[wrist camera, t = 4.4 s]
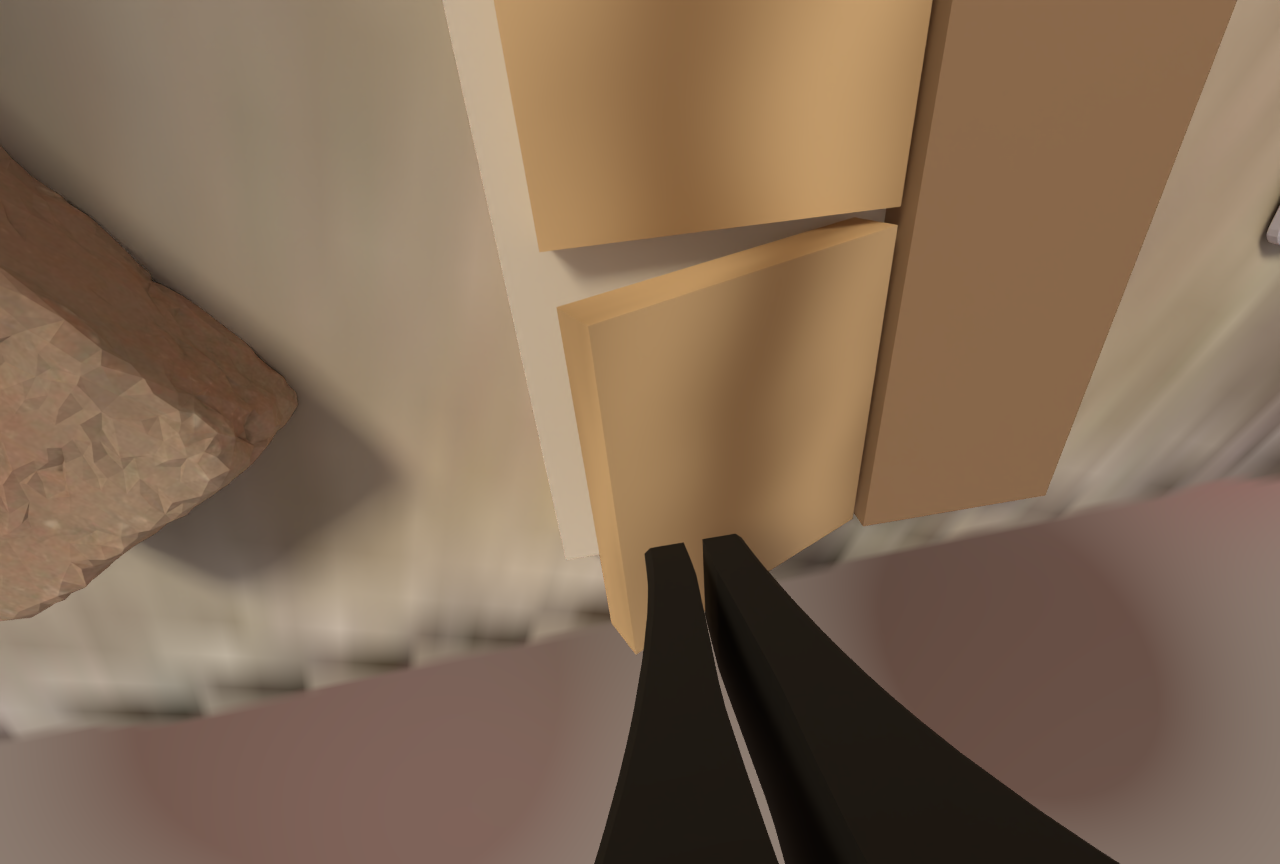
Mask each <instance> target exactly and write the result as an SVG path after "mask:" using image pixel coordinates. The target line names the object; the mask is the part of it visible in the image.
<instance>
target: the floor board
mask: <svg viewBox="0 0 1280 864" xmlns="http://www.w3.org/2000/svg"><path fill="white" fill-rule="evenodd" d="M442 2H443V6H444V11H445V15H446V20H447V24H448V29H449V33H450V38H451V42H452V47H453V51H454V56H455V60H456V65H457V69H458V74H459V79H460V83H461V88H462V92H463V97H464V101H465V106H466V110H467V115H468V119H469V124H470V128H471V133H472V137H473V142H474V146H475V151H476V155H477V160H478V165H479V169H480V174H481V178H482V183H483V187H484V192H485V196H486V201H487V205H488V210H489V214H490V219H491V223H492V228H493V232H494V237H495V241H496V246H497V250H498V255H499V260H500V264H501V269H502V273H503V278H504V282H505V287H506V291H507V296H508V300H509V305H510V309H511V314H512V318H513V323H514V327H515V332H516V336H517V341H518V346H519V350H520V355H521V359H522V364H523V368H524V373H525V377H526V382H527V386H528V391H529V395H530V400H531V404H532V409H533V413H534V418H535V422H536V427H537V432H538V436H539V441H540V445H541V450H542V454H543V459H544V463H545V468H546V472H547V477H548V481H549V486H550V490H551V495H552V499H553V504H554V508H555V513H556V518H557V522H558V527H559V531H560V536H561V540H562V545H563V549H564V554H565V558H566V560H570V559H576V558H582V557H588V556H594V555H600V554H599V549H598V543H597V537H596V531H595V526H594V520H593V514H592V509H591V503H590V497H589V491H588V486H587V480H586V474H585V468H584V463H583V457H582V451H581V446H580V440H579V434H578V428H577V423H576V417H575V411H574V405H573V400H572V394H571V388H570V383H569V377H568V371H567V365H566V360H565V354H564V348H563V342H562V337H561V331H560V325H559V320H558V314H557V308H556V307H559V306H562V305H565V304H569V303H572V302H575V301H579V300H582V299H585V298H589V297H592V296H595V295H599V294H602V293H605V292H608V291H612V290H615V289H618V288H622V287H625V286H628V285H632V284H635V283H638V282H642V281H645V280H648V279H651V278H655V277H658V276H661V275H665V274H668V273H671V272H675V271H678V270H681V269H685V268H688V267H691V266H694V265H698V264H701V263H704V262H708V261H711V260H714V259H718V258H721V257H724V256H728V255H731V254H734V253H737V252H741V251H744V250H747V249H751V248H754V247H757V246H761V245H764V244H767V243H771V242H774V241H777V240H780V239H784V238H787V237H790V236H794V235H797V234H800V233H804V232H807V231H810V230H814V229H817V228H820V227H823V226H827V225H830V224H833V223H837V222H840V221H843V220H847V219H850V218H853V217H856V218H861V219H867V220H873V221H878V222H884V223H889V224H895V225H898V228H897V234H896V240H895V247H894V253H893V260H892V266H891V273H890V279H889V286H888V292H887V299H886V305H885V312H884V318H883V325H882V331H881V338H880V344H879V350H878V357H877V363H876V370H875V376H874V383H873V389H872V396H871V402H870V409H869V415H868V422H867V428H866V435H865V441H864V448H863V454H862V460H861V467H860V473H859V480H858V486H857V493H856V499H855V506H854V514H855V515H856V517H857V518H858V519H859V521H860V522H861V524H862V525H863V526H868V525H873V524H879V523H885V522H891V521H897V520H903V519H909V518H915V517H920V516H926V515H932V514H938V513H944V512H950V511H956V510H962V509H968V508H973V507H979V506H985V505H991V504H997V503H1003V502H1009V501H1015V500H1020V499H1026V498H1032V497H1038V496H1044V495H1046V492H1047V489H1048V487H1049V484H1050V482H1051V479H1052V476H1053V474H1054V471H1055V469H1056V466H1057V464H1058V461H1059V458H1060V456H1061V453H1062V451H1063V448H1064V446H1065V443H1066V440H1067V438H1068V435H1069V433H1070V430H1071V427H1072V425H1073V422H1074V420H1075V417H1076V415H1077V412H1078V409H1079V407H1080V404H1081V402H1082V399H1083V397H1084V394H1085V391H1086V389H1087V386H1088V384H1089V381H1090V378H1091V376H1092V373H1093V371H1094V368H1095V366H1096V363H1097V360H1098V358H1099V355H1100V353H1101V350H1102V348H1103V345H1104V342H1105V340H1106V337H1107V335H1108V332H1109V329H1110V327H1111V324H1112V322H1113V319H1114V317H1115V314H1116V311H1117V309H1118V306H1119V304H1120V301H1121V299H1122V296H1123V293H1124V291H1125V288H1126V286H1127V283H1128V280H1129V278H1130V275H1131V273H1132V270H1133V268H1134V265H1135V262H1136V260H1137V257H1138V255H1139V252H1140V250H1141V247H1142V244H1143V242H1144V239H1145V237H1146V234H1147V231H1148V229H1149V226H1150V224H1151V221H1152V219H1153V216H1154V213H1155V211H1156V208H1157V206H1158V203H1159V200H1160V198H1161V195H1162V193H1163V190H1164V188H1165V185H1166V182H1167V180H1168V177H1169V175H1170V172H1171V170H1172V167H1173V164H1174V162H1175V159H1176V157H1177V154H1178V151H1179V149H1180V146H1181V144H1182V141H1183V139H1184V136H1185V133H1186V131H1187V128H1188V126H1189V123H1190V121H1191V118H1192V115H1193V113H1194V110H1195V108H1196V105H1197V102H1198V100H1199V97H1200V95H1201V92H1202V90H1203V87H1204V84H1205V82H1206V79H1207V77H1208V74H1209V72H1210V69H1211V66H1212V64H1213V61H1214V59H1215V56H1216V53H1217V51H1218V48H1219V46H1220V43H1221V41H1222V38H1223V35H1224V33H1225V30H1226V28H1227V25H1228V23H1229V20H1230V17H1231V15H1232V12H1233V10H1234V7H1235V4H1236V2H1237V0H933V1H932V7H931V14H930V20H929V27H928V33H927V40H926V46H925V53H924V59H923V66H922V72H921V79H920V85H919V92H918V98H917V105H916V111H915V118H914V124H913V130H912V137H911V143H910V150H909V156H908V163H907V169H906V176H905V182H904V189H903V195H902V202H901V206H900V207H892V208H884V209H876V210H868V211H861V212H853V213H845V214H837V215H829V216H821V217H813V218H805V219H797V220H790V221H782V222H774V223H766V224H758V225H750V226H742V227H734V228H727V229H719V230H711V231H703V232H695V233H687V234H679V235H671V236H663V237H656V238H648V239H640V240H632V241H624V242H616V243H608V244H600V245H592V246H585V247H577V248H569V249H561V250H553V251H545V252H539V248H538V242H537V237H536V231H535V226H534V220H533V214H532V209H531V203H530V198H529V192H528V187H527V181H526V176H525V170H524V165H523V159H522V154H521V148H520V143H519V137H518V132H517V126H516V121H515V115H514V110H513V104H512V99H511V93H510V88H509V82H508V77H507V71H506V66H505V60H504V55H503V49H502V44H501V38H500V33H499V27H498V22H497V16H496V11H495V5H494V0H442Z"/></svg>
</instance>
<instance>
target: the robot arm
mask: <svg viewBox="0 0 1280 864" xmlns="http://www.w3.org/2000/svg"><path fill="white" fill-rule="evenodd" d="M1267 240H1268V241H1269V242H1270V243H1273V244H1277V245H1280V206H1279V208H1278V210H1277V212H1276V214H1275V216H1274V218H1273V220H1272V222H1271V224H1270V226H1269V228H1268V231H1267ZM702 542H703V569H704V596H705V613H704V608H703V604H702V599H701V594H700V589H699V584H698V580H697V575H696V572H695V569H694V567H693V564H692V561H691V559H690V556H689V554H688V552H687V549H686V547H685V544H684V542H682V543H677V544H671V545H665V546H659V547H653V548H650V549H649V550H648V551H647V552H646V553H645V554H644V555H645V564H646V572H647V581H648V604H647V621H646V631H645V640H644V650H643V659H642V665H641V671H640V677H639V683H638V689H637V695H636V701H635V707H634V712H633V717H632V722H631V727H630V732H629V736H628V740H627V745H626V749H625V754H624V758H623V762H622V766H621V770H620V774H619V778H618V782H617V786H616V790H615V793H614V797H613V801H612V804H611V808H610V811H609V815H608V819H607V823H606V826H605V830H604V833H603V836H602V840H601V843H600V847H599V850H598V854H597V857H596V860H595V863H594V864H779V863H778V861H777V858H776V855H775V852H774V850H773V847H772V844H771V841H770V838H769V836H768V833H767V830H766V827H765V824H764V821H763V818H762V815H761V812H760V809H759V806H758V804H757V801H756V798H755V795H754V792H753V789H752V786H751V783H750V780H749V778H748V775H747V772H746V769H745V766H744V763H743V760H742V757H741V754H740V751H739V748H738V744H737V741H736V738H735V736H734V733H733V730H732V726H731V723H730V720H729V718H728V714H727V711H726V708H725V704H724V700H723V696H722V693H721V689H720V685H719V681H718V676H717V672H716V667H715V662H714V657H713V652H712V647H711V642H710V637H711V641H712V644H713V649H714V652H715V656H716V660H717V664H718V668H719V671H720V673H721V677H722V679H723V682H724V685H725V688H726V691H727V693H728V696H729V699H730V701H731V704H732V707H733V710H734V712H735V715H736V718H737V721H738V724H739V726H740V729H741V732H742V735H743V737H744V740H745V742H746V745H747V748H748V751H749V754H750V756H751V759H752V762H753V765H754V767H755V770H756V773H757V775H758V778H759V781H760V784H761V786H762V789H763V792H764V795H765V797H766V800H767V804H768V806H769V810H770V813H771V816H772V819H773V822H774V825H775V829H776V832H777V836H778V840H779V843H780V847H781V850H782V854H783V857H784V861H785V864H1119V863H1118V862H1117V861H1115V860H1113V859H1112V858H1110V857H1109V856H1107V855H1106V854H1104V853H1102V852H1101V851H1099V850H1098V849H1096V848H1095V847H1093V846H1092V845H1090V844H1089V843H1087V842H1086V841H1084V840H1083V839H1081V838H1080V837H1078V836H1077V835H1076V834H1074V833H1073V832H1071V831H1069V830H1068V829H1067V828H1065V827H1064V826H1062V825H1061V824H1059V823H1058V822H1056V821H1055V820H1053V819H1052V818H1050V817H1049V816H1047V815H1046V814H1044V813H1043V812H1041V811H1040V810H1038V809H1037V808H1036V807H1034V806H1033V805H1032V804H1030V803H1029V802H1027V801H1026V800H1025V799H1023V798H1022V797H1021V796H1019V795H1018V794H1016V793H1015V792H1014V791H1012V790H1011V789H1010V788H1008V787H1007V786H1005V785H1004V784H1003V783H1001V782H1000V781H999V780H997V779H996V778H995V777H993V776H992V775H990V774H989V773H988V772H986V771H985V770H984V769H982V768H981V767H979V766H978V765H977V764H975V763H974V762H973V761H971V760H970V759H969V758H967V757H966V756H964V755H963V754H962V753H960V752H959V751H958V750H957V749H955V748H954V747H953V746H952V745H950V744H949V743H948V742H946V741H945V740H944V739H943V738H942V737H940V736H939V735H938V734H936V733H935V732H934V731H933V730H932V729H930V728H929V727H928V726H926V725H925V724H924V723H923V722H921V721H920V720H919V719H918V718H917V717H915V716H914V715H913V714H912V713H911V712H910V711H908V710H907V709H906V708H905V707H904V706H903V705H901V704H900V703H899V702H898V701H897V700H895V699H894V698H893V697H892V696H891V695H889V693H887V692H886V691H885V690H884V689H883V688H882V687H880V686H879V685H878V684H877V683H876V682H875V681H874V680H873V679H872V678H871V677H869V676H868V675H867V674H866V673H865V672H864V671H863V670H862V669H861V668H860V667H859V666H858V665H857V664H856V663H855V662H854V661H853V660H852V659H850V658H849V657H848V656H847V655H846V654H845V653H844V652H843V651H842V650H841V649H840V648H839V647H838V646H837V645H836V644H835V643H834V642H833V641H832V640H831V639H830V638H829V637H828V636H827V635H826V634H825V633H824V632H823V631H822V630H821V629H820V628H819V627H818V626H817V625H816V624H815V623H814V622H813V620H812V619H811V618H810V617H809V616H808V615H807V614H806V613H805V612H804V611H803V610H802V609H801V608H800V607H799V606H798V605H797V604H796V603H795V601H794V600H793V599H792V598H791V597H790V596H789V595H788V594H787V592H786V591H785V590H784V589H783V588H782V587H781V586H780V584H779V583H778V582H777V581H776V580H775V579H774V577H773V576H772V575H771V574H770V573H769V572H768V570H767V569H766V568H765V567H764V566H763V564H762V563H761V562H760V561H759V559H758V558H757V557H756V556H755V554H754V553H753V552H752V551H751V549H750V548H749V547H748V545H747V544H746V543H745V541H744V540H743V539H742V537H740V536H739V535H737V534H730V535H724V536H718V537H712V538H706V539H702ZM705 616H706V618H705ZM706 620H707V623H706ZM707 624H708V628H709V632H710V637H709V633H708V628H707Z"/></svg>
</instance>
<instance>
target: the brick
mask: <svg viewBox="0 0 1280 864" xmlns="http://www.w3.org/2000/svg"><path fill="white" fill-rule="evenodd" d="M297 405H298V402H297V394H296V392H295V391H294V390H293V389H292V388H291V387H290V386H289V385H287V382H286V380H285V378H284V377H283V376H281V375H280V374H279V373H277V372H276V371H274V370H273V369H272V368H270V367H269V366H268V365H267V364H266V363H264V362H263V361H262V360H261V359H260V358H259V357H257V356H256V354H255V353H254V351H253V350H252V349H251V348H250V347H249V346H248V345H247V344H246V343H245V342H244V341H243V340H241V339H240V338H239V337H237V336H236V335H235V334H233V333H232V332H231V331H229V330H228V329H227V328H225V327H224V326H223V325H222V324H220V323H219V322H218V321H216V320H215V319H214V318H212V317H211V316H210V315H209V314H207V313H206V312H205V311H203V310H202V309H201V308H199V307H198V306H197V305H195V304H194V303H192V302H191V301H189V300H188V299H186V298H185V297H183V296H182V295H180V294H178V293H176V292H174V291H172V290H171V289H169V288H167V287H165V286H163V285H161V284H158V283H155V282H152V278H151V274H150V273H149V272H147V271H146V270H145V269H144V268H143V267H142V266H140V265H139V264H138V263H137V262H136V261H135V260H134V259H133V258H132V257H131V256H130V255H129V254H128V253H127V252H126V251H125V250H124V249H123V248H122V247H121V246H120V245H119V244H118V243H117V242H116V241H115V240H114V239H113V238H112V237H111V236H110V235H109V234H108V233H107V232H106V231H105V230H104V229H103V228H101V227H100V226H99V225H98V224H97V223H96V222H95V221H94V220H93V219H91V218H90V217H89V216H88V215H86V214H84V213H83V212H81V211H80V210H78V209H76V208H75V207H73V206H72V205H70V204H69V203H68V202H67V201H66V200H65V199H64V198H63V197H62V196H61V195H59V194H57V193H56V192H54V191H53V190H51V189H50V188H48V187H47V186H45V185H44V184H42V183H41V182H39V181H38V180H36V179H35V178H33V177H32V176H31V175H30V174H29V173H28V172H27V171H25V170H24V169H23V168H22V167H21V166H20V165H19V164H18V163H17V162H15V161H14V160H13V159H12V158H11V157H10V156H9V155H8V154H7V152H6V151H5V150H4V149H3V148H2V147H1V146H0V621H4V620H13V619H22V618H31V617H33V616H35V615H37V614H38V613H40V612H42V611H43V610H45V609H47V608H48V607H50V606H52V605H53V604H55V603H57V602H60V601H63V600H65V599H66V598H67V597H68V596H69V595H70V594H71V593H73V592H75V591H78V590H80V589H83V588H85V587H86V586H87V585H88V584H89V583H90V582H91V580H93V579H94V578H96V577H97V576H98V575H99V574H100V573H102V572H103V571H104V570H105V569H106V568H108V567H109V566H110V565H111V564H112V563H113V562H114V561H115V560H116V559H118V558H119V557H120V556H121V555H123V554H124V553H125V552H127V551H128V550H130V549H131V548H132V547H133V546H135V545H137V544H138V543H140V542H142V541H144V540H145V539H147V538H149V537H150V536H152V535H154V534H156V533H157V532H158V531H159V530H160V529H161V528H163V527H164V526H165V525H166V524H167V523H169V522H171V521H173V520H176V519H178V518H181V517H183V516H186V515H187V514H188V513H189V512H190V511H191V510H192V509H193V508H194V507H196V506H197V505H199V504H201V503H202V502H203V501H204V500H206V499H208V498H210V497H211V496H213V495H214V494H215V493H217V492H218V491H219V490H220V489H222V488H223V487H225V486H227V485H229V483H230V482H231V481H232V480H233V479H235V478H236V477H237V476H238V475H240V474H241V473H242V472H243V471H245V470H246V469H247V468H248V467H249V466H250V465H251V464H253V462H254V461H255V460H256V459H257V458H258V457H259V456H260V454H261V453H262V452H263V451H264V450H265V449H266V447H267V446H268V444H269V443H270V442H271V440H272V439H273V437H274V436H275V434H276V432H277V431H278V430H279V429H281V428H282V427H283V426H285V424H286V423H287V422H288V420H289V419H290V417H291V416H292V414H293V412H294V411H295V409H296V407H297Z"/></svg>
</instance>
